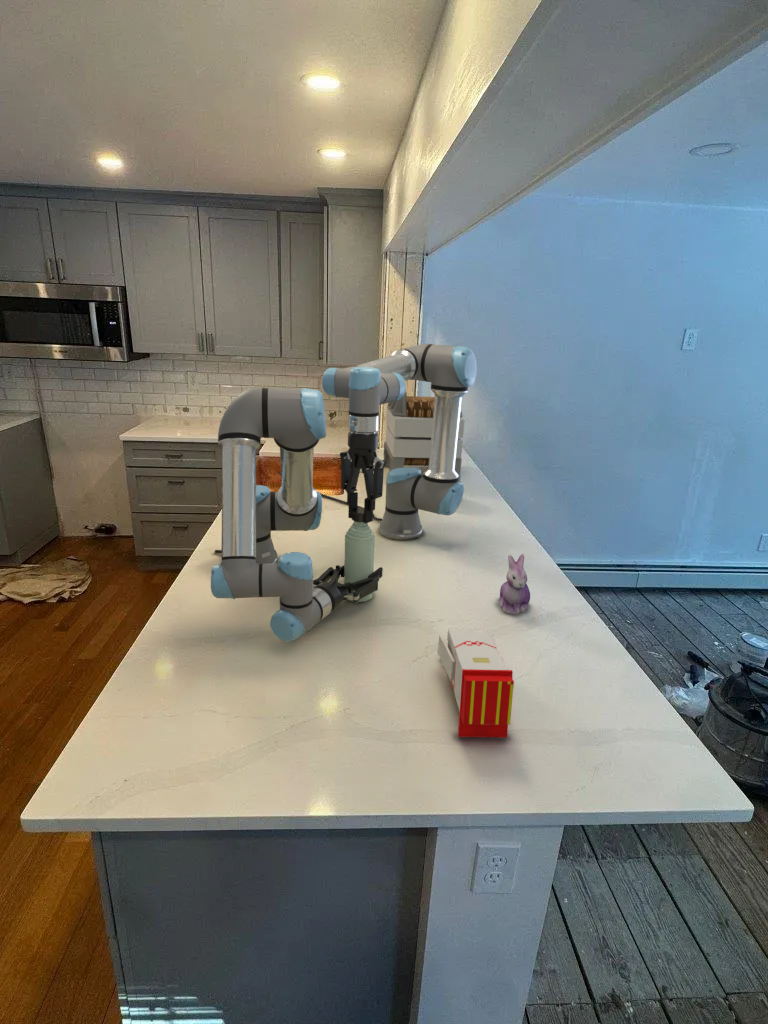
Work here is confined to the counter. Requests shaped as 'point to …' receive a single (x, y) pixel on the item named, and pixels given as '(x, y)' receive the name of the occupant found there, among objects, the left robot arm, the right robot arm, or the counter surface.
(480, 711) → the toy
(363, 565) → the bottle
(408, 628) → the counter surface
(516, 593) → the figurine
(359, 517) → the cap
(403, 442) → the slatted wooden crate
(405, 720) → the counter surface
